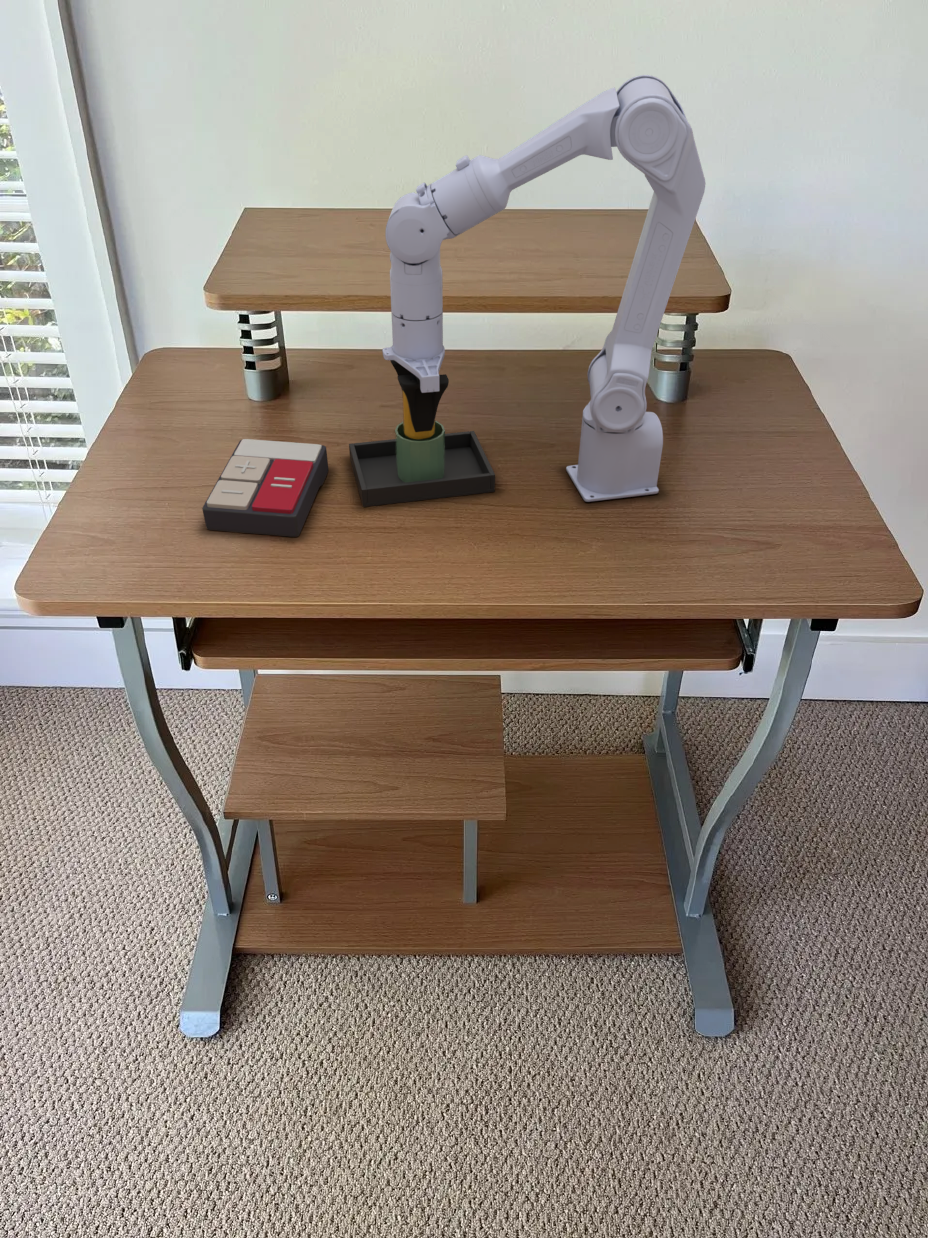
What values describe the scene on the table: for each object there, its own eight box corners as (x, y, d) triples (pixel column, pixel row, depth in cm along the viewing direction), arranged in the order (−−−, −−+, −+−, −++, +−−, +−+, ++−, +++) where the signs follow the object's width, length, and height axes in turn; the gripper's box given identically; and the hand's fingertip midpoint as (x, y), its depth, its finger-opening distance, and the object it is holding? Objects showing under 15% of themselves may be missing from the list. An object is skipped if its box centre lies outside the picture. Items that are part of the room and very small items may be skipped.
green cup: (439, 458, 125) (438, 415, 122) (449, 482, 121) (449, 439, 117) (393, 463, 124) (391, 420, 120) (401, 487, 120) (400, 444, 116)
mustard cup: (431, 422, 121) (430, 381, 117) (437, 437, 118) (437, 395, 114) (401, 425, 120) (399, 384, 117) (407, 440, 117) (405, 398, 114)
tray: (473, 446, 129) (474, 430, 127) (494, 491, 120) (495, 474, 119) (350, 460, 126) (348, 443, 124) (362, 507, 117) (361, 489, 116)
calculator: (199, 503, 111) (239, 433, 122) (206, 534, 114) (244, 462, 125) (294, 511, 110) (326, 439, 121) (299, 542, 113) (329, 469, 124)
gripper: (371, 289, 114) (376, 396, 123) (392, 340, 103) (396, 454, 112) (431, 284, 115) (432, 391, 124) (458, 334, 105) (457, 448, 113)
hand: (419, 421), depth 118 cm, fingers closed on mustard cup, 4 cm apart
